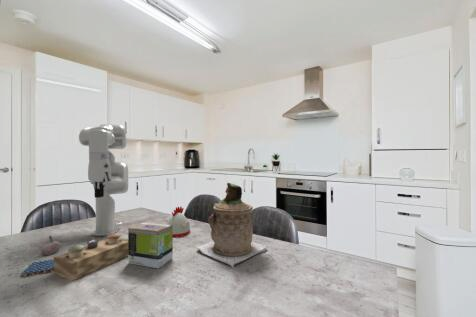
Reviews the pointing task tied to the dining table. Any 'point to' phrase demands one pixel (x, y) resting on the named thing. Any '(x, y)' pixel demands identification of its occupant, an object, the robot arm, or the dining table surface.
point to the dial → (92, 244)
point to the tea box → (150, 244)
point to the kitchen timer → (179, 223)
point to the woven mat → (39, 268)
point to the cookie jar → (231, 230)
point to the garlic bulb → (50, 247)
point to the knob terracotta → (113, 238)
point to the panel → (90, 259)
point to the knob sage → (75, 251)
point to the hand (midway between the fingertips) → (99, 196)
